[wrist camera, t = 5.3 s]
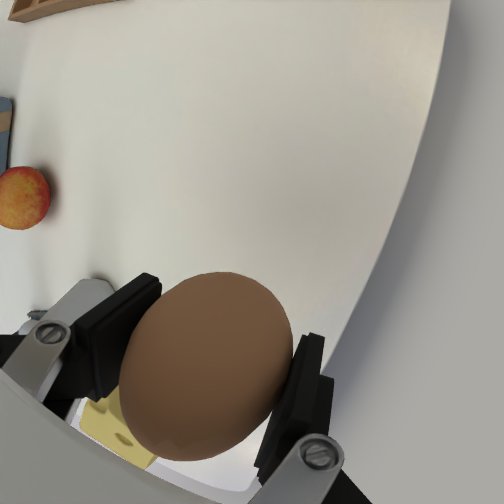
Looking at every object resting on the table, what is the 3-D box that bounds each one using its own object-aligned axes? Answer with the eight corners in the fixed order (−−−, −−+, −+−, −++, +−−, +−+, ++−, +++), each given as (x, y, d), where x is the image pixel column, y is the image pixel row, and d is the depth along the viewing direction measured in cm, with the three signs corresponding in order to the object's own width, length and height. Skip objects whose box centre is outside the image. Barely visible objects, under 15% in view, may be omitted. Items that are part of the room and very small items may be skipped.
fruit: (42, 147, 31) (-8, 154, 24) (70, 195, 32) (17, 210, 24) (21, 188, 34) (-24, 200, 27) (45, 233, 35) (-1, 252, 28)
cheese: (130, 343, 36) (82, 391, 27) (202, 392, 36) (166, 451, 26) (115, 385, 40) (76, 427, 31) (176, 427, 40) (145, 476, 30)
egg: (190, 237, 13) (47, 333, 6) (314, 259, 12) (269, 416, 5) (190, 338, 15) (96, 456, 8) (294, 363, 14) (247, 517, 7)
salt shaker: (117, 324, 36) (47, 384, 24) (84, 298, 36) (11, 347, 24) (127, 290, 33) (47, 349, 21) (92, 262, 34) (9, 309, 22)
